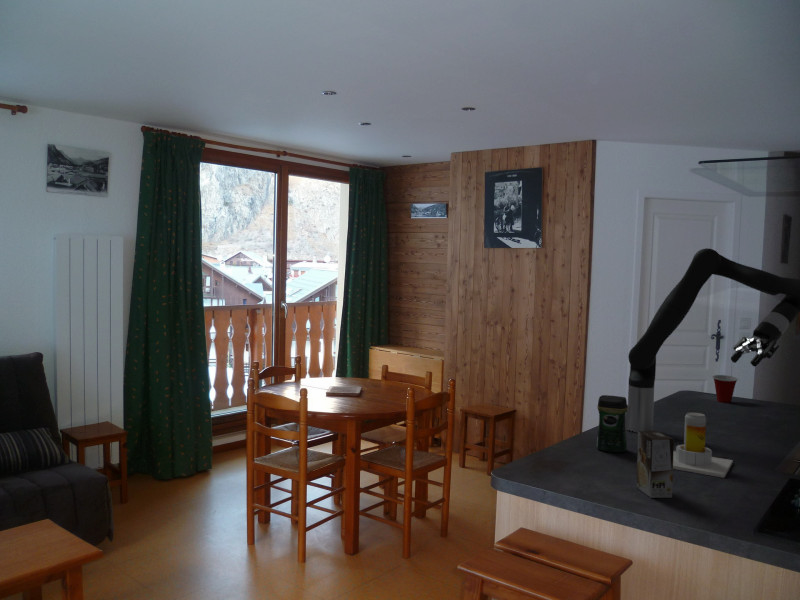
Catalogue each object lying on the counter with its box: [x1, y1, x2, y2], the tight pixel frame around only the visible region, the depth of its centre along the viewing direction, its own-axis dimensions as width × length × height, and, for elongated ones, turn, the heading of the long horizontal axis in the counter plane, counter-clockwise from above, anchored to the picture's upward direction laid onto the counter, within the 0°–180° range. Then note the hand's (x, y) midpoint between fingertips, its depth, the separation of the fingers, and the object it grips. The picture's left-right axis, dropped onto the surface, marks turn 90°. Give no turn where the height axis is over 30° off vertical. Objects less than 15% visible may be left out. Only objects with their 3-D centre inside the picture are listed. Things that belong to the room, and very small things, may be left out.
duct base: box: [673, 443, 733, 479], centre depth 202 cm, size 20×18×5 cm
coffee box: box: [636, 430, 675, 499], centre depth 175 cm, size 9×6×16 cm
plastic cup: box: [712, 374, 739, 404], centre depth 304 cm, size 11×11×12 cm
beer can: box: [683, 412, 707, 452], centre depth 202 cm, size 6×6×15 cm
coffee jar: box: [596, 394, 628, 453], centre depth 217 cm, size 10×8×19 cm
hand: (742, 362), depth 215 cm, fingers open, 8 cm apart
